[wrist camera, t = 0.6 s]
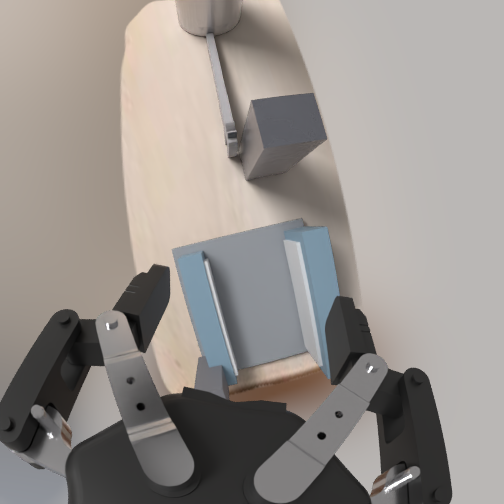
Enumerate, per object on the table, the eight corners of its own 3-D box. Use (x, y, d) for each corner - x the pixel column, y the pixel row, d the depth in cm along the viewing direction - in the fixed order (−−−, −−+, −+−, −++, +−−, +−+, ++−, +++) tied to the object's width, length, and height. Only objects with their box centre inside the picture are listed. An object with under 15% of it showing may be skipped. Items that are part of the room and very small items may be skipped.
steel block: (238, 149, 35) (251, 100, 20) (277, 142, 35) (313, 93, 20) (245, 180, 35) (264, 148, 20) (285, 172, 35) (327, 138, 21)
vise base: (173, 248, 35) (157, 256, 26) (300, 218, 36) (325, 216, 27) (209, 372, 37) (207, 410, 28) (323, 342, 38) (349, 371, 29)
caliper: (236, 157, 35) (240, 143, 29) (227, 159, 35) (229, 145, 29) (212, 32, 33) (212, 6, 27) (204, 33, 33) (203, 7, 27)
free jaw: (169, 258, 34) (152, 269, 25) (206, 249, 34) (201, 257, 25) (205, 376, 36) (202, 416, 27) (238, 369, 36) (244, 408, 27)
